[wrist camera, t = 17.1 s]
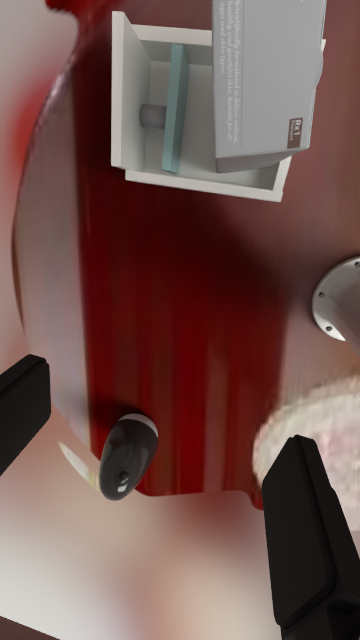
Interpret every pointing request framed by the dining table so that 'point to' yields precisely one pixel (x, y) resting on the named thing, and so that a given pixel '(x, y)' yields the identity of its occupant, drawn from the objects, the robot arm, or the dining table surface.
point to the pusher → (171, 110)
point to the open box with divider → (198, 133)
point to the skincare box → (264, 79)
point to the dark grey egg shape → (127, 455)
